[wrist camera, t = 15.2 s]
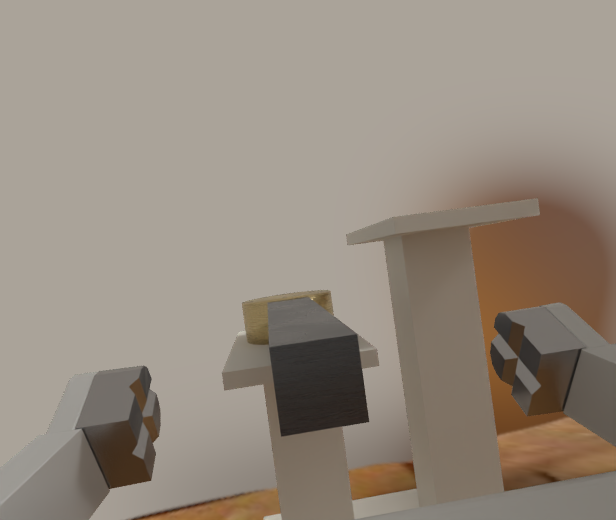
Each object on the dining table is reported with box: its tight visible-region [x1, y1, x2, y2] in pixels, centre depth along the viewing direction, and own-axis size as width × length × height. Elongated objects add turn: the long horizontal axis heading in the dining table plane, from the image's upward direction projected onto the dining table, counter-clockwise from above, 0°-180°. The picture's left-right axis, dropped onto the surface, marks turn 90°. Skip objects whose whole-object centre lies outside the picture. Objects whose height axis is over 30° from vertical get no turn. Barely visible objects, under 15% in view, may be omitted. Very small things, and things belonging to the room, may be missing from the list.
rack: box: [222, 199, 540, 520], centre depth 35 cm, size 16×20×26 cm
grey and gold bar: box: [242, 290, 369, 437], centre depth 28 cm, size 24×7×3 cm, turn 5°
